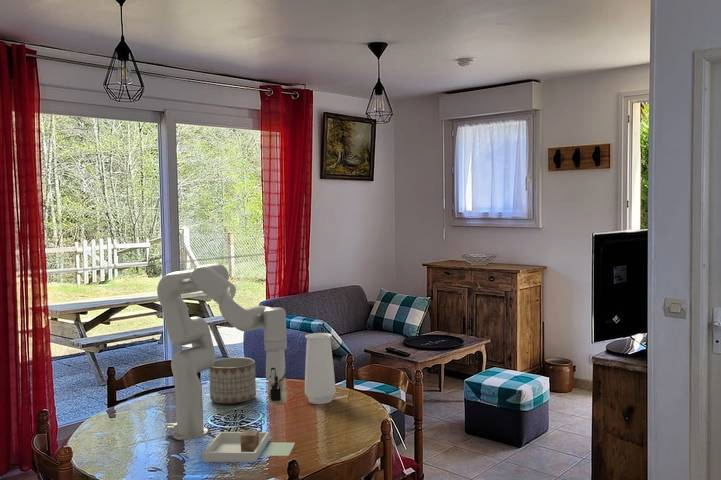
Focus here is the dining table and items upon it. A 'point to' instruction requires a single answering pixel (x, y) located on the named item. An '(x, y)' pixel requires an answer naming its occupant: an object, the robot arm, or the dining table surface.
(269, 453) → the pad
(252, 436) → the walnut block
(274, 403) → the birch box
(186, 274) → the robot arm
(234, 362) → the planter
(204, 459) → the bin
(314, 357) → the vase
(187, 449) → the dining table surface
